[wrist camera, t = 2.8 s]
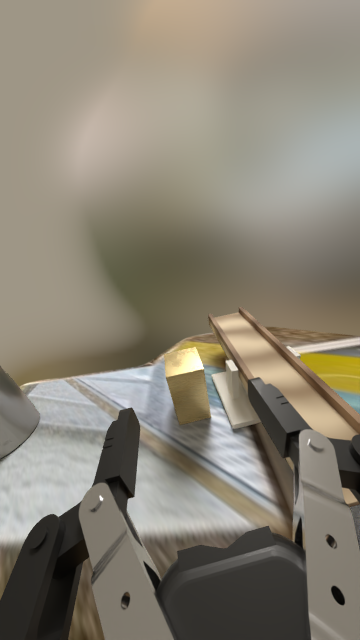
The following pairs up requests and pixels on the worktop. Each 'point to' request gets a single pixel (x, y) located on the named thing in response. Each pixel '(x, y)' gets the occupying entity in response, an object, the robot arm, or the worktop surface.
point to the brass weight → (187, 385)
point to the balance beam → (285, 378)
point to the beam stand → (236, 396)
